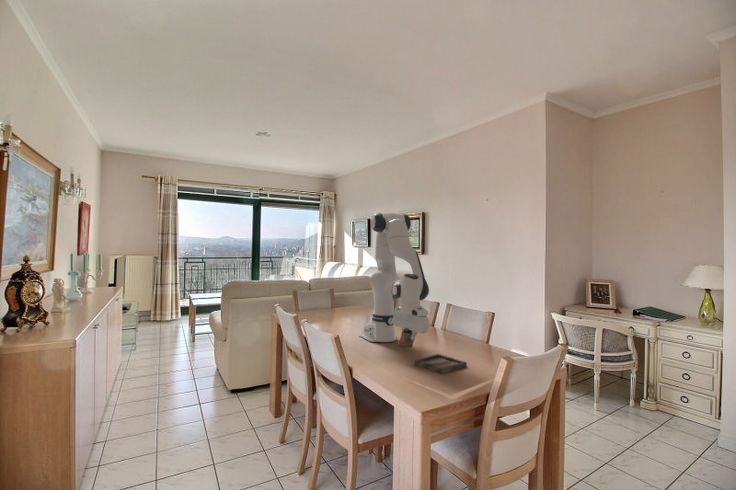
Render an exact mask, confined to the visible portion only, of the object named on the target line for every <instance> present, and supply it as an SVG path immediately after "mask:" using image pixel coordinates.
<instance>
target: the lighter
mask: <svg viewBox="0 0 736 490" xmlns="http://www.w3.org/2000/svg"><path fill="white" fill-rule="evenodd" d="M412 334H413V333H412V330H408V328H407V327H406V328H405V330H404V331H402V330H401V335H400V337H399V341H398V343H397V347H398V348H401V349H410V348H413V346H414V345H413V344H414V342H415V340H410V336H412Z"/></svg>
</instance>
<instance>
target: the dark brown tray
mask: <svg viewBox="0 0 736 490" xmlns="http://www.w3.org/2000/svg"><path fill="white" fill-rule="evenodd" d="M414 365H416V366H418V367H422V368H424V369H427V370H430V371H433V372H436V373H440V374H441V375H446V374H448V373H451V372H455V371H457V370H461V369H464V368H466V367H467V361H463V360H461V359H457V358H453V357H450V356H447V355H443V354H440V353H437V354H433V355H430V356H429V355H428V356H426V357H421V358H417V359H415V360H414Z"/></svg>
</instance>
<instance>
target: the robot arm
mask: <svg viewBox="0 0 736 490" xmlns="http://www.w3.org/2000/svg"><path fill="white" fill-rule="evenodd" d="M370 226H371V229H372V230H373V231H374V232H376V238H375V255H374V258H375V259H374V260H375V263H376V266H377V267H376V268H377V270H376V271H374V273H372V274H371V276H370V278H369V284H370V286H371V288H372V289H371V290H372V295H373V305H374V306H373V313H372V314H371V315H370V317H372V318H371V320H370V321H369V322H367V324H365V325H364V327H363V332H361V333H360V334H359V337H360V338H363V339H365V341H369V342H373V343H374V342H375V343H376V342H379V343H391V342H395V341H397V335H396V327H398V328H401V332H402V331H404V330H405V328H406V327H407V328H408V330H412V333H413V334H412V336H410V340H414V341H415V340H416V336H417V334H418V333H420V334H427V333H428V332H429V327H430V325H429V317H428V316H429V310H427V309H426V308H425V307H422V305H421V301H424V300H425V299H426V298H427V297H428V296H429V294H430V286H429V284H428V282H427V280H426V276H425V273H424V269H423V267H422V263H421V259H420V256H419V253H418V252H417V250H416V249H414V247H413V246H412V244H411V241H410V235H409V231H410V230H411V226H412V220H411V218H410V216H409V215H407V214H405V213H397V212H383V213H382V212H376V213H373V215H372V216H371V221H370ZM395 257H396V258H399V259H401V260H403V261H405V262H406V263H408V264H409V265H410V268H411V270H412V271H411V272H412V273H406V274H403V275H402V278H400V279H398V278H399V277H398V275H397V268H396V259H395ZM394 298H395V299H396V300H401V302H400V306H396V307H395V305H394V303H395V302H394V301H395V300H394Z"/></svg>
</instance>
